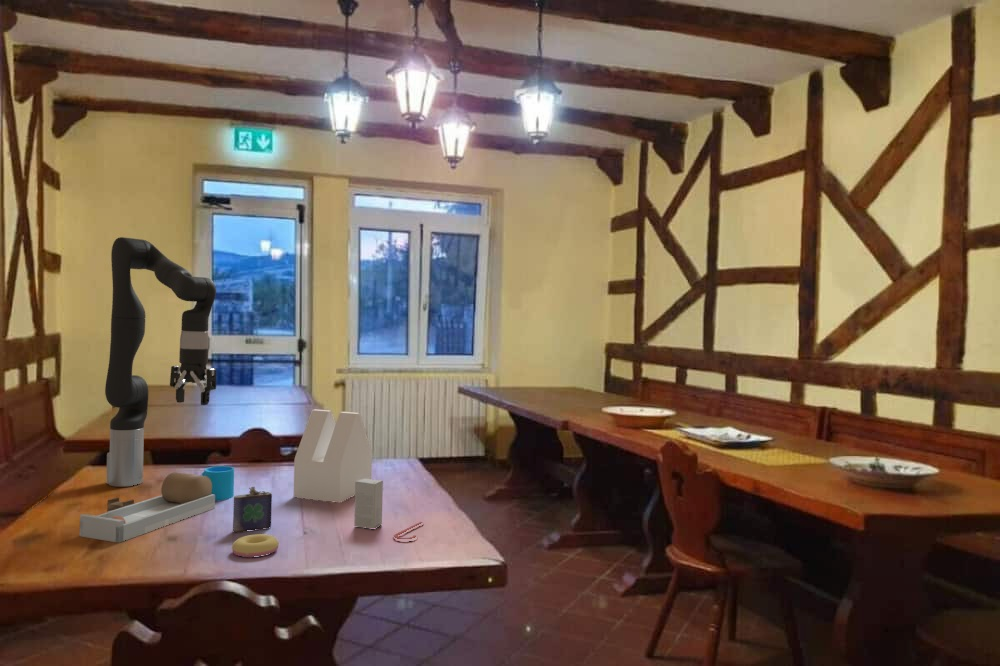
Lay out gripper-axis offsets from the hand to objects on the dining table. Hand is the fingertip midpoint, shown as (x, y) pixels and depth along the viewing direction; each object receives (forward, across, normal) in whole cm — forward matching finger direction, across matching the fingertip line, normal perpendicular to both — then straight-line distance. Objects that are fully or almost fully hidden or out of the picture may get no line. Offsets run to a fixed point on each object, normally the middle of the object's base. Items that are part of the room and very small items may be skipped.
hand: (192, 403), depth 202 cm
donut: (+28, -45, +28) cm, 59 cm away
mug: (+28, -3, -6) cm, 29 cm away
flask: (+28, -34, +15) cm, 46 cm away
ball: (+25, -7, +31) cm, 41 cm away
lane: (+28, -7, +20) cm, 34 cm away
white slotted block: (+28, -32, -25) cm, 49 cm away
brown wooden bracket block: (+28, +6, +18) cm, 34 cm away
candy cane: (+27, -71, +1) cm, 76 cm away
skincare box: (+27, -58, +1) cm, 64 cm away
